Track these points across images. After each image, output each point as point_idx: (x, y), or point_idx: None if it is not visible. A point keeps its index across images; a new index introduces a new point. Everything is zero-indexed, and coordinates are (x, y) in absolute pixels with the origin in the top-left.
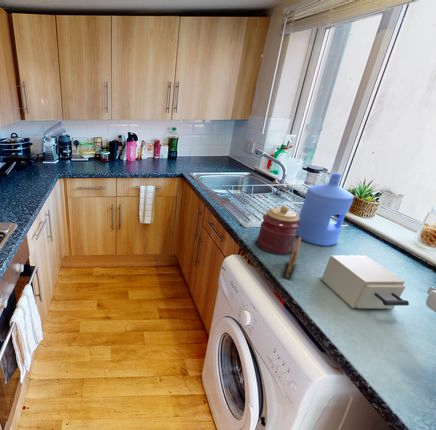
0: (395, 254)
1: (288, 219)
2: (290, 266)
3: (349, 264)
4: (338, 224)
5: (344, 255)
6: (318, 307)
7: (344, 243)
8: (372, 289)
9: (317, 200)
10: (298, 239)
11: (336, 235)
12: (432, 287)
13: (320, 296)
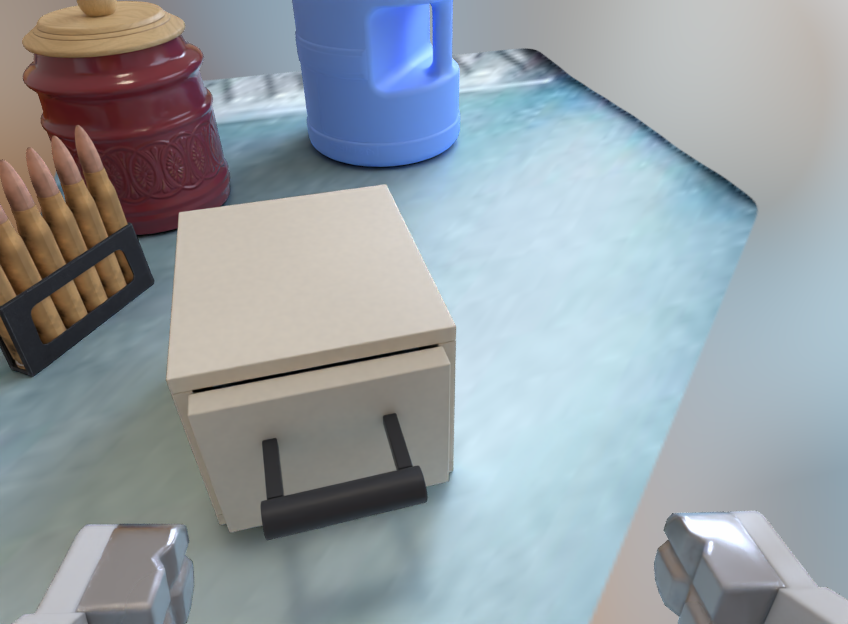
0: (655, 162)
1: (81, 45)
2: None
3: (221, 255)
4: (436, 62)
5: (261, 201)
6: None
7: (487, 146)
8: (225, 424)
9: None
10: (52, 144)
11: (428, 113)
12: (76, 539)
13: (96, 471)
